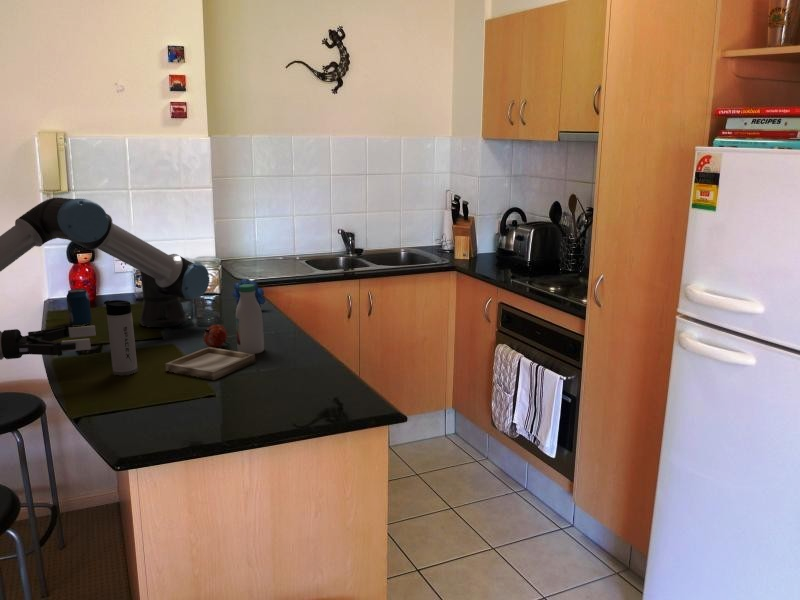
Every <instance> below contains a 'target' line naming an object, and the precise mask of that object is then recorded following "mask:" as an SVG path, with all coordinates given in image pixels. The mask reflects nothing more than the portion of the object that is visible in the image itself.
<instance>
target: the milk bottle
mask: <svg viewBox="0 0 800 600" xmlns="http://www.w3.org/2000/svg"><path fill="white" fill-rule="evenodd" d="M239 293H240V300H239V303H238V305H236V309H235V332H236V333H235V334H236V344H237V346H236V347H237V348H236V349H237V352H243V353H249V354H255V355H258V354H260V353H263V352H264V350H265V338H264V323H263V313H262V307H261V308H260V306H259V304H258V302H257V300H256V297H255V285H253V284H243V285H240V286H239Z"/></svg>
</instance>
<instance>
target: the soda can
mask: <svg viewBox="0 0 800 600" xmlns="http://www.w3.org/2000/svg"><path fill="white" fill-rule="evenodd" d="M66 303H67V312H68V313H67V314H68V318H69V319H68V321H69V324H70V325H71V324H72V325H83V324H87V323H90V322H91V323H92V321H93V319H92V311H91V302H90V294H89V293H88V291H87V288H75V289H69V290H68V291H67V294H66ZM91 323H90V324H91ZM72 325H71V326H72Z"/></svg>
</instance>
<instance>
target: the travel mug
mask: <svg viewBox="0 0 800 600" xmlns="http://www.w3.org/2000/svg"><path fill="white" fill-rule="evenodd" d="M103 305H105V309H106V321H107V328H108V329H107V330H108V337H109V339H108V340H109V347H110V357H111V367H112V373H113V374H112V375H114V376H116V375H127V376H131V375H130V374H132V375H134V374H136V373H138V369H139V368H138V361H137V352H136V341H135V331H134V322H133V321H134V320H133V313H132V312H133V311H132V304H131V302H130V301H128V300H122V299H113V300H109V299H108V300H107V299H106V300H105V301H104V302H103ZM133 373H134V374H133Z"/></svg>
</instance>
